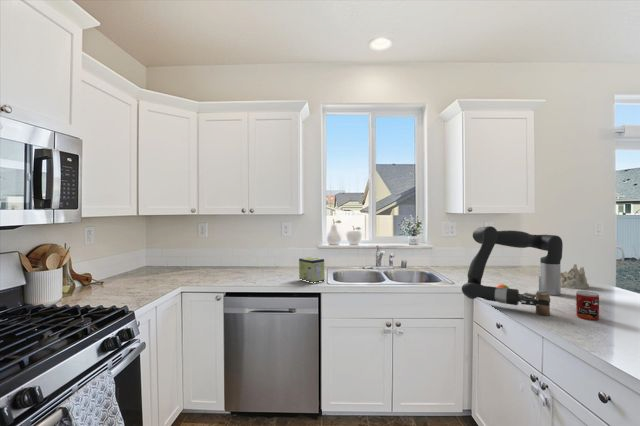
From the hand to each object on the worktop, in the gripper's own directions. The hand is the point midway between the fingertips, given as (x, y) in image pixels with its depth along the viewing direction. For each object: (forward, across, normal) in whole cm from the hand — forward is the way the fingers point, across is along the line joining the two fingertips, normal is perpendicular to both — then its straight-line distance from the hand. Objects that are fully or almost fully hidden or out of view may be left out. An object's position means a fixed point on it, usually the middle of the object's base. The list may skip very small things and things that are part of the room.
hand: (549, 301), depth 143 cm
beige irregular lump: (+6, +74, +6) cm, 75 cm away
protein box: (-133, -12, +6) cm, 133 cm away
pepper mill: (-3, 0, +6) cm, 7 cm away
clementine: (-22, +21, +6) cm, 31 cm away
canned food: (+13, +6, +6) cm, 16 cm away
